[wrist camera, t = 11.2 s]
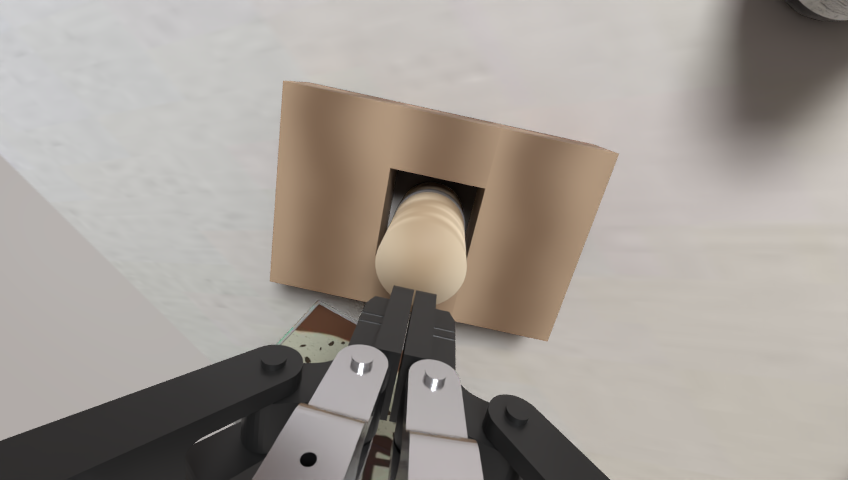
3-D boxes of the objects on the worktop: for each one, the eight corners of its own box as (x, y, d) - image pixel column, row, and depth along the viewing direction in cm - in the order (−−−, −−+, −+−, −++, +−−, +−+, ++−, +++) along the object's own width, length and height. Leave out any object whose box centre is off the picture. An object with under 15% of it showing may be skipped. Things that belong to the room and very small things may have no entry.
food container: (269, 346, 32) (191, 453, 22) (301, 289, 29) (229, 381, 20) (400, 415, 33) (379, 542, 24) (439, 366, 31) (432, 484, 22)
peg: (469, 182, 26) (478, 233, 16) (455, 239, 27) (455, 315, 18) (408, 168, 26) (382, 212, 16) (397, 226, 27) (367, 296, 18)
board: (593, 144, 24) (618, 154, 21) (535, 308, 29) (547, 341, 25) (309, 82, 24) (283, 80, 20) (294, 256, 28) (269, 281, 25)
